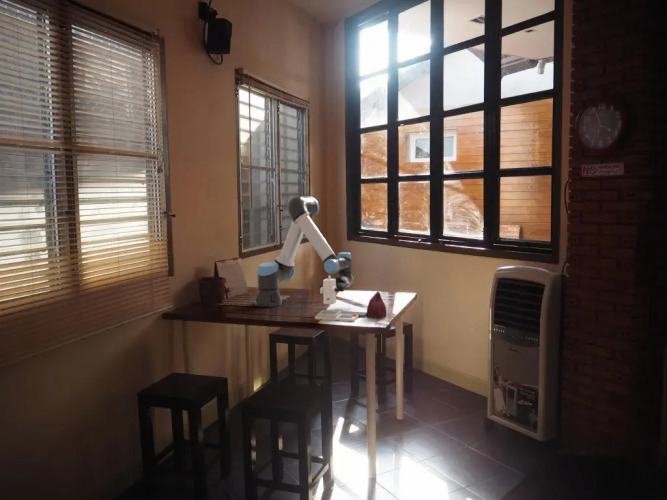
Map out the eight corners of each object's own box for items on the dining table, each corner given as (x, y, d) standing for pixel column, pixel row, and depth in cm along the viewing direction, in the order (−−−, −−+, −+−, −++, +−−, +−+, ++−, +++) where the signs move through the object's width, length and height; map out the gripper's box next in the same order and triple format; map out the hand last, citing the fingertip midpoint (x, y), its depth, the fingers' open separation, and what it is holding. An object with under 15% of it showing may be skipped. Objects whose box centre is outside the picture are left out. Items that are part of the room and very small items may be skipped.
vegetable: (387, 324, 257) (392, 297, 252) (366, 322, 256) (371, 295, 251) (384, 314, 267) (389, 288, 262) (364, 312, 266) (369, 286, 261)
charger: (323, 303, 255) (323, 276, 254) (326, 301, 260) (326, 274, 258) (333, 304, 253) (332, 276, 252) (336, 302, 258) (335, 275, 257)
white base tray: (314, 319, 255) (314, 313, 254) (321, 314, 264) (321, 309, 264) (353, 321, 249) (353, 316, 248) (358, 317, 258) (358, 312, 258)
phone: (364, 317, 258) (364, 315, 258) (338, 315, 262) (338, 313, 262) (368, 314, 264) (368, 312, 264) (342, 312, 269) (342, 310, 268)
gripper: (356, 291, 271) (344, 299, 249) (323, 289, 276) (309, 297, 254) (356, 277, 270) (343, 284, 248) (323, 276, 275) (308, 282, 253)
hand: (326, 291), depth 251 cm, fingers closed on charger, 5 cm apart
